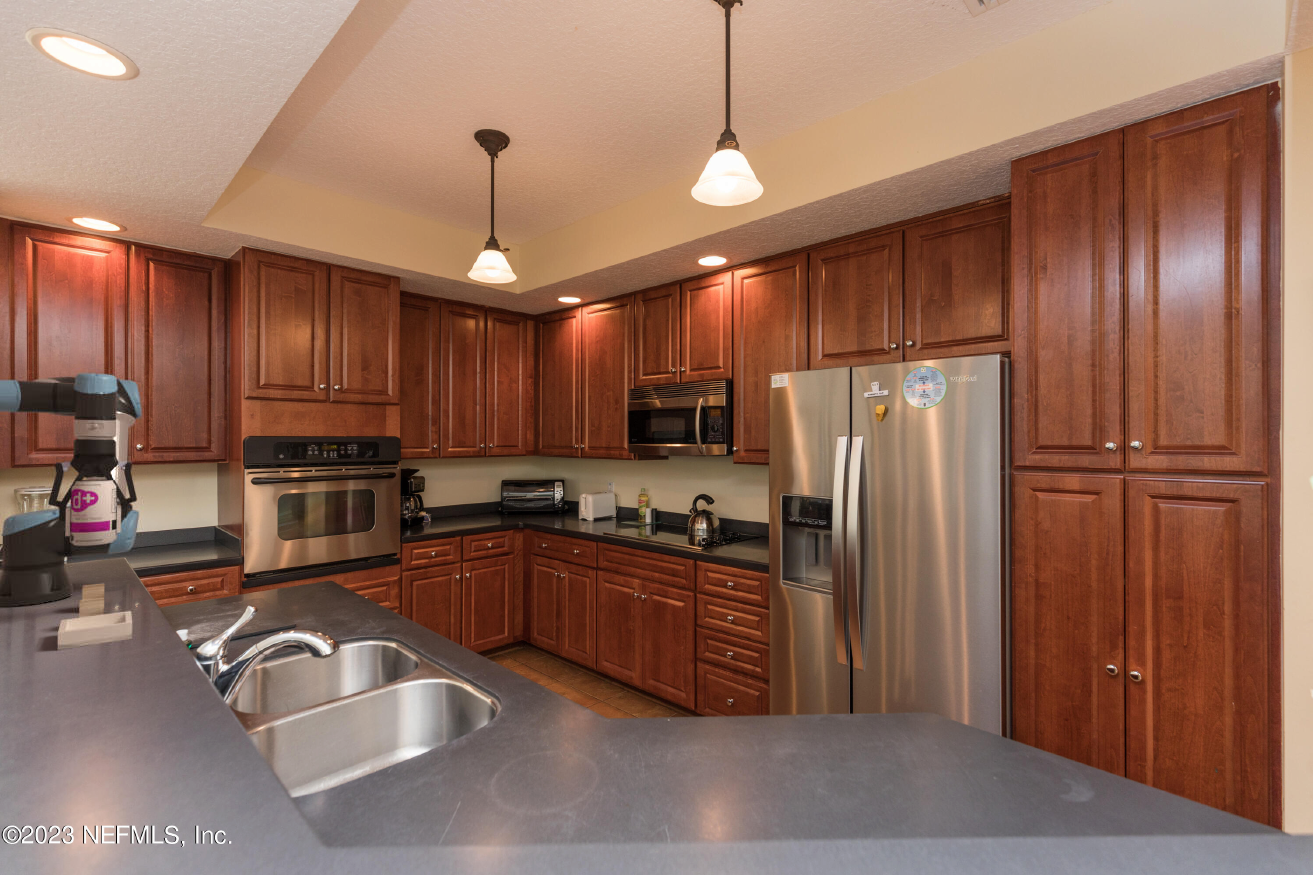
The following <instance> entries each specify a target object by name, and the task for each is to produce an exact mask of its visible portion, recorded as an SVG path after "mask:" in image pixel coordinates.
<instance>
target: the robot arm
mask: <svg viewBox="0 0 1313 875" xmlns="http://www.w3.org/2000/svg"><path fill="white" fill-rule="evenodd" d="M0 412H7V413H27V414H28V413H32V414H33V413H40V414H42V413H43V414H50V415H55V416H65V417H73V419H74V420H73V437H76V438H75V439H74V440H73V457H72V459H71V460H70V461H66V462H57V463H55V464H54V468H55V472H56V474H55V477H54V481H53V484H52V489H51V491H50V495H49V499H48V505H49V506H52V507H57V508H51V509H50V508H49V509H43V510H35V511H28V512H24V513H18V514H14V515H13V514H12V515H10V516H9V517H6V519H4V521H3V525H2V526H3V527H2V533H1V537H2V549H1V550H2V552H1V553H2V554H1V556H2V559H1V560H2V561H1V565H2V566H1V569H2V570H1V575H0V607H3V608H4V607H20V606H19V605H25V606H30V604H34V605H39V604H40V603H41V604H45V603H44V602H47V603H49V602H48V601H52V602H56V601H55V600H57V601H60V600H59V599H61V600H63V599H62V598H65V597H68V596H70V595H71V594H73V595H74V586H73V585H74V584H73V583H72V581H71V579H70V577H69V575H68V574H69V573H68V571H67V570H66V568H65V558H71V557H84V556H97V555H112V554H118V553H127V552H129V551H130V550H131V549H132V548H133V546H134V544H135V540H136V535H137V530H138V525H139V524H138V523H139V520H140V519H139V518H140V512H139V510H136V509H133V503H135V502H137V500H138V498H137V494H136V489H135V485H134V480H133V476H132V467H133V463H132V462H131V461H128V453H129V452H128V450H129V448H128V447H129V428H131V427H133V426H134V425H135V424H136V420H138V419H141V418H142V404H141V397H140V393H139V388H138V384H137V383H136V381H133V380H131V379H130V380H129V379H128V380H127V379H120V378H117V377H116V376H115V375H113V374H107V373H95V372H94V373H92V372H91V373H89V372H79V373H77V374H75V376H57V377H47V378H38V379H34V380H17V379H0ZM69 467H72V468H73V469H74V470H75V471H76V472H77V473H78V474H77V475H76V478H75V479H74V480H73V482H72V483H71V485H70V486H69V488H68V490H67V492H66V493H65V495H64V497H63V498H62V499H61V500H58V496H59V493H60V490H61V486H62V483H63V478H64V476H65V475H64V474H65V472H67V471H69ZM84 478H86V480H94V479H107V481H110V480H113V482H114V484H115V485H116V496H117V539H115V540H114V541H113V542H112V543H107V544H100V545H88V546H77V545H74V544H73V543H71V542H70V518H71V506H68V504H69V502H71V495H72V487H73V485H74V484H75V483H76V481H82V480H84ZM127 490H128V494H129V497H127ZM70 597H71V596H70ZM68 598H69V597H68ZM65 599H66V598H65Z"/></svg>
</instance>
